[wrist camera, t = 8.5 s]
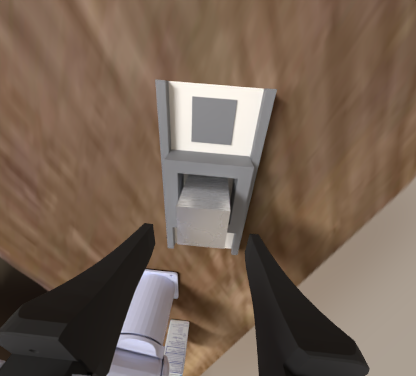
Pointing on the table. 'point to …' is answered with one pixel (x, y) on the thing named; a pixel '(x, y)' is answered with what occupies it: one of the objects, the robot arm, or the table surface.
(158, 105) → the frame
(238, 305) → the table surface
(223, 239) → the steel square block
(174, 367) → the medicine box
